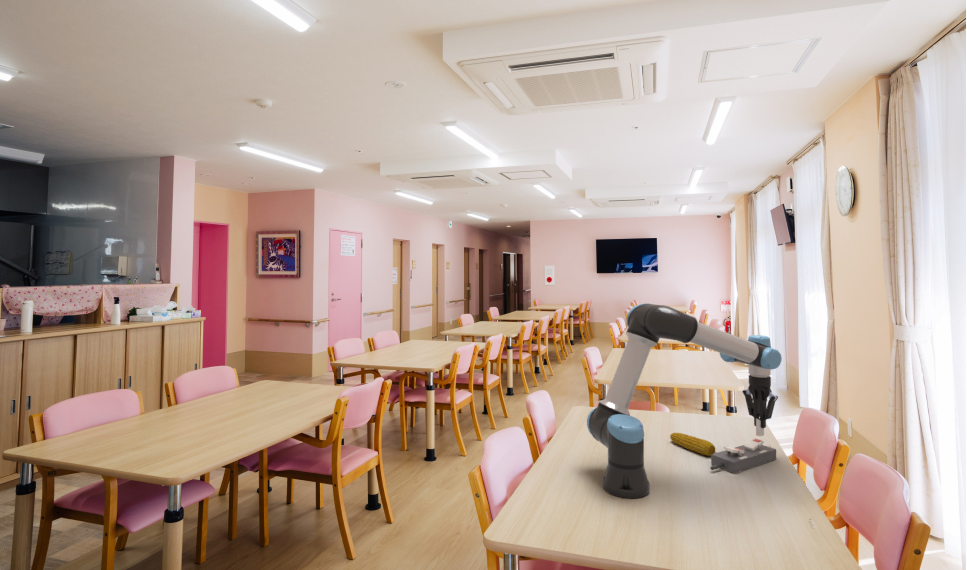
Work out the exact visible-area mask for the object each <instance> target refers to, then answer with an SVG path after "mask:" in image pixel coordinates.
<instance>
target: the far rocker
mask: <svg viewBox="0 0 967 570" xmlns="http://www.w3.org/2000/svg"><path fill="white" fill-rule="evenodd" d="M743 445H744V448H746V449H749V450H752V451H754V450H755V449H756V448H758V447H759V446H761V445H764V440H762V439H758V438H753V439H751V440H750V441H749V442H747V443H746V445H745V444H743Z"/></svg>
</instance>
